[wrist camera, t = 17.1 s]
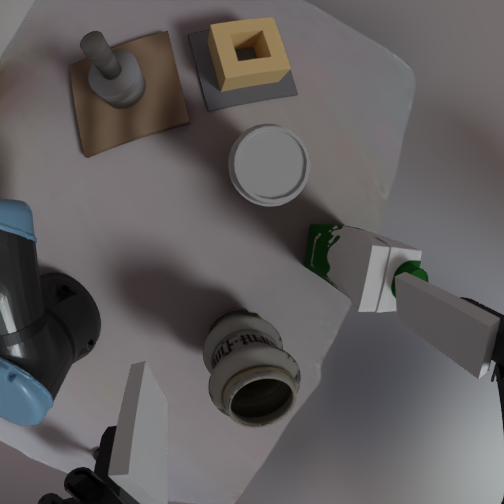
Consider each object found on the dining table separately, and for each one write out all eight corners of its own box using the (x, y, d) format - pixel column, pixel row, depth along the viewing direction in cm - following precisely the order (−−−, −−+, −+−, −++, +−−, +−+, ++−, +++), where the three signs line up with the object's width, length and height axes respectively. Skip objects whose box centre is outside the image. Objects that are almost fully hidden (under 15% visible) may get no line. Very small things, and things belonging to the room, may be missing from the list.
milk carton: (345, 274, 50) (420, 321, 31) (297, 271, 48) (361, 325, 29) (354, 223, 48) (438, 249, 29) (305, 217, 46) (379, 242, 27)
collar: (220, 91, 39) (225, 78, 33) (207, 42, 36) (210, 24, 30) (278, 81, 40) (290, 68, 34) (263, 34, 37) (273, 17, 32)
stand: (88, 157, 37) (29, 145, 20) (72, 68, 33) (23, 21, 16) (189, 123, 39) (189, 83, 22) (168, 35, 35) (161, -34, 18)
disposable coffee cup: (212, 145, 41) (220, 131, 29) (274, 132, 42) (303, 116, 31) (228, 208, 43) (241, 217, 32) (288, 192, 45) (321, 196, 33)
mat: (208, 111, 39) (208, 111, 39) (188, 35, 36) (188, 34, 35) (296, 95, 41) (297, 94, 41) (273, 23, 37) (274, 21, 37)
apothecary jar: (284, 313, 49) (328, 374, 32) (256, 370, 51) (284, 441, 33) (215, 292, 46) (231, 354, 29) (191, 354, 47) (196, 430, 30)
